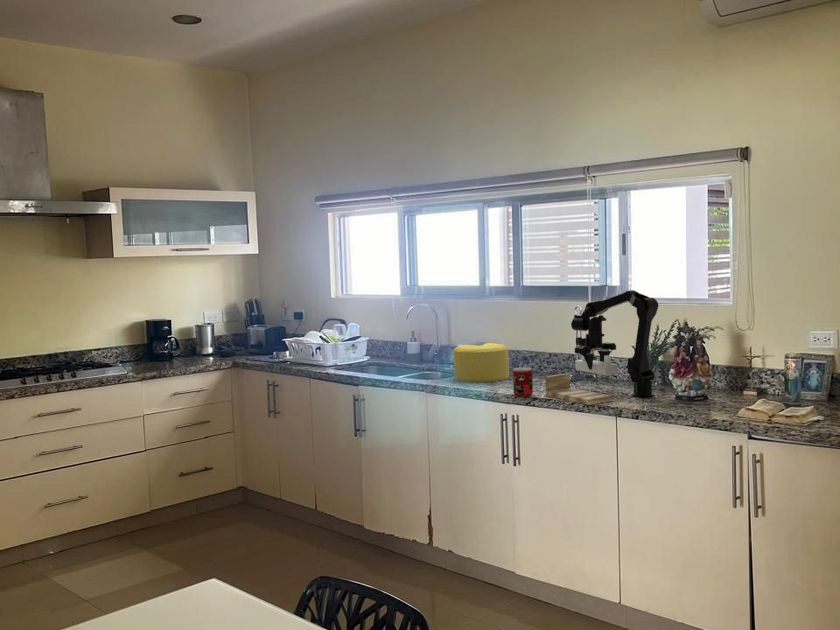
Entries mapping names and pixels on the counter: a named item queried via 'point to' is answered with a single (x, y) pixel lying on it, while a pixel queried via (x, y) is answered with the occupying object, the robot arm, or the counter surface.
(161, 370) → the counter surface
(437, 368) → the counter surface
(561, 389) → the shelf
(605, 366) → the white studded brick
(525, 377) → the canned food
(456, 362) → the cheese
